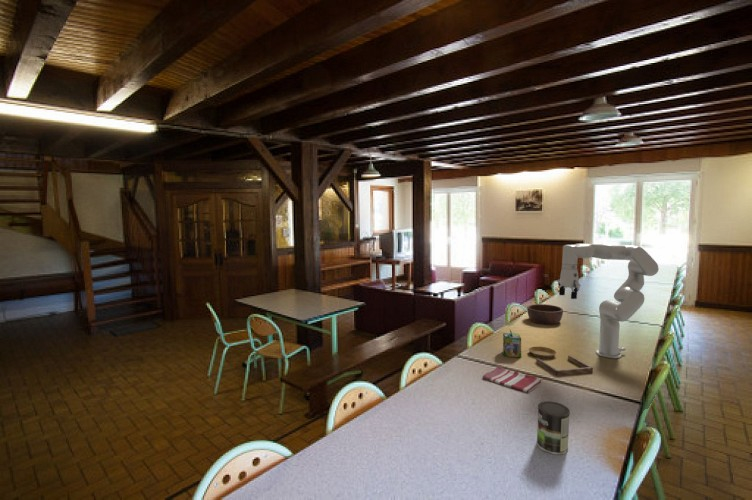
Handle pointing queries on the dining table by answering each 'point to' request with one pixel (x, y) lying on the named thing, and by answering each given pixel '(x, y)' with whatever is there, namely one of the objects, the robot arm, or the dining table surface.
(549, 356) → the plant saucer
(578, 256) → the robot arm
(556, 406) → the coffee can
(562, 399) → the dining table surface
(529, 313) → the wooden bowl
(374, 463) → the dining table surface
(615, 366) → the dining table surface
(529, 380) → the dish towel
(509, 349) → the chalk box
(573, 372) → the display frame
